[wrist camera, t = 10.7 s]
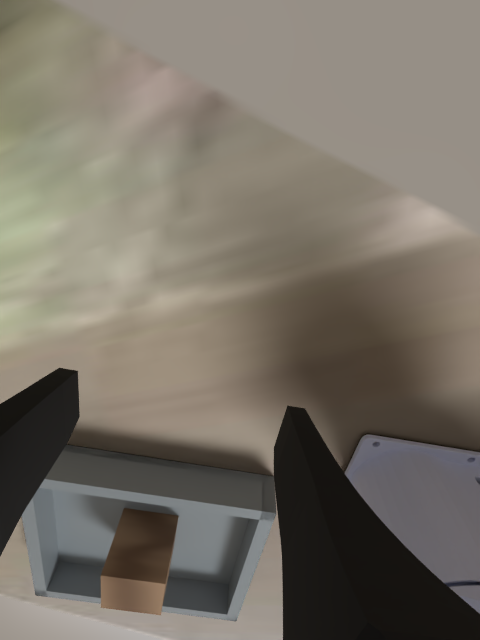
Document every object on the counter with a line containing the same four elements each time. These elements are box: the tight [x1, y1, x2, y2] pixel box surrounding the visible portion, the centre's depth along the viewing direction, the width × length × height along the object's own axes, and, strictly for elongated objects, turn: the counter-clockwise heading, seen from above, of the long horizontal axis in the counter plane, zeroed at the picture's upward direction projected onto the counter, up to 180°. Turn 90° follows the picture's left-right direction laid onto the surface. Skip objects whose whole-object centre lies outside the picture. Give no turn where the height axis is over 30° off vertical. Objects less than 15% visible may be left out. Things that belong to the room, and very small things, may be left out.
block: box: [101, 508, 179, 615], centre depth 28 cm, size 4×4×5 cm
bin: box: [22, 445, 276, 621], centre depth 29 cm, size 18×16×3 cm
